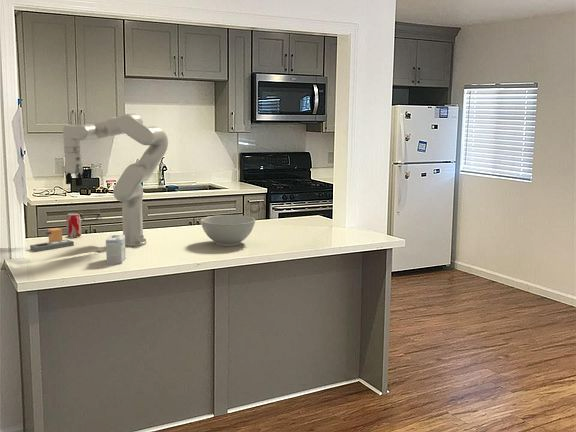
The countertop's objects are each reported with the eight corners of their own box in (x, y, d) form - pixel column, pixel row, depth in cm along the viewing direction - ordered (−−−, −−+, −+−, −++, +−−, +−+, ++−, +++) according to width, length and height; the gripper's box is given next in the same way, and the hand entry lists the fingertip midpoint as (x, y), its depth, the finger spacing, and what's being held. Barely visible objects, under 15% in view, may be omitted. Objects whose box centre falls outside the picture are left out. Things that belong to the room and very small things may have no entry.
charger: (62, 245, 317) (61, 229, 316) (49, 247, 312) (48, 231, 311) (58, 243, 320) (57, 227, 318) (45, 246, 315) (44, 229, 313)
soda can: (77, 238, 332) (75, 215, 330) (64, 237, 334) (63, 214, 332) (84, 235, 339) (82, 213, 337) (71, 235, 340) (70, 212, 338)
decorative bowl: (219, 236, 339) (219, 213, 337) (264, 241, 328) (264, 217, 325) (190, 246, 315) (189, 221, 313) (237, 251, 304) (237, 226, 302)
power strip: (74, 248, 309) (73, 241, 308) (37, 255, 296) (37, 247, 296) (66, 246, 314) (66, 239, 313) (30, 252, 301) (30, 244, 300)
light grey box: (110, 258, 291) (109, 234, 289) (126, 258, 291) (125, 234, 289) (106, 264, 280) (105, 239, 278) (122, 264, 281) (121, 239, 279)
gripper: (88, 150, 316) (89, 185, 319) (70, 148, 327) (72, 182, 330) (73, 151, 310) (75, 187, 313) (56, 149, 322) (58, 184, 325)
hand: (74, 184), depth 322 cm, fingers open, 9 cm apart
